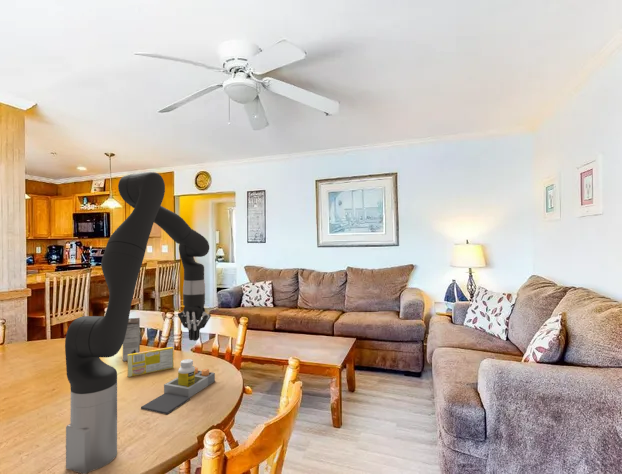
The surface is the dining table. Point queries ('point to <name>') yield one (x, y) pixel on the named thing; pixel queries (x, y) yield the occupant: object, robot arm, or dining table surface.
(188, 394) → the frame
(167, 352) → the candy box
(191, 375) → the supplement bottle
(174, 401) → the mat
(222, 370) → the dining table surface
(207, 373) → the plunger
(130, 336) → the coffee box
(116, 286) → the robot arm
